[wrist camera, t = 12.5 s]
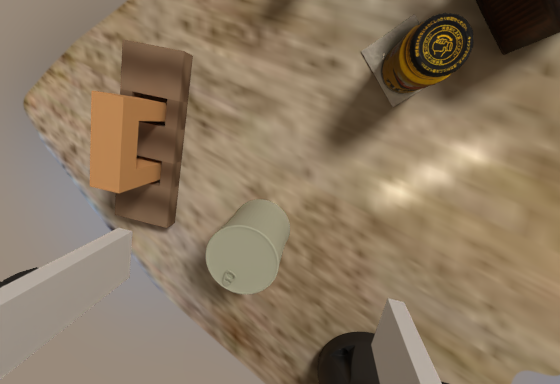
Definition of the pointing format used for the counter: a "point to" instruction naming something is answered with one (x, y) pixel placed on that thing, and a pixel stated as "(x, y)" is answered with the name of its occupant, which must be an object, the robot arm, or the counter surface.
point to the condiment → (419, 54)
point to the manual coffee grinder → (520, 21)
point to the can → (249, 247)
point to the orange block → (121, 141)
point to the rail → (156, 128)
